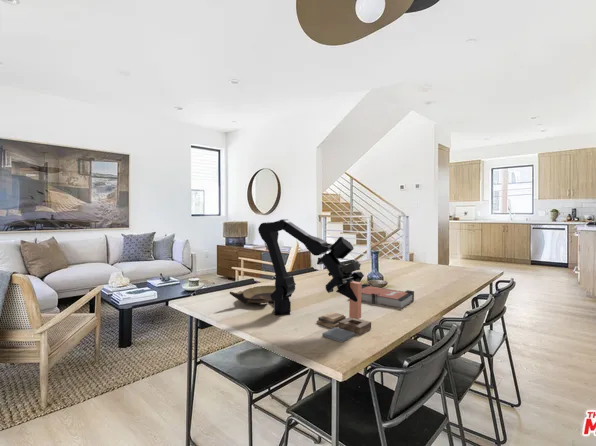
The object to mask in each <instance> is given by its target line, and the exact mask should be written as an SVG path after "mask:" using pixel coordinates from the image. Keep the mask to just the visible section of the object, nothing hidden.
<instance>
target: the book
mask: <svg viewBox="0 0 596 446" xmlns="http://www.w3.org/2000/svg"><path fill="white" fill-rule="evenodd" d="M361 298H362V299H361V302H366V303H370V304H374V305H375V304H376V305H381V306H385V307H386V306H387V307H393V308H398V309H403V308H405V307H406V306H408V305H409V304H411V303H412V302H414V301H415V291H414V290H409V289H407V290H405V291H404V290H403V291H402V290H396V289H390V288H383V287H378V286H371V284H368V283H362V295H361Z"/></svg>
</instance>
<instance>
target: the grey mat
mask: <svg viewBox="0 0 596 446" xmlns="http://www.w3.org/2000/svg"><path fill="white" fill-rule="evenodd" d="M322 337H323V338H328V339H330V340H334V341H337V342H339V343H344V342H345V341H347V340H349V339H351V338H353V337H355V333H354V332H351V331H347V330H344V329H340V328H339V327H335V328H331V329H329V330H326V331H324V332H322Z"/></svg>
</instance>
